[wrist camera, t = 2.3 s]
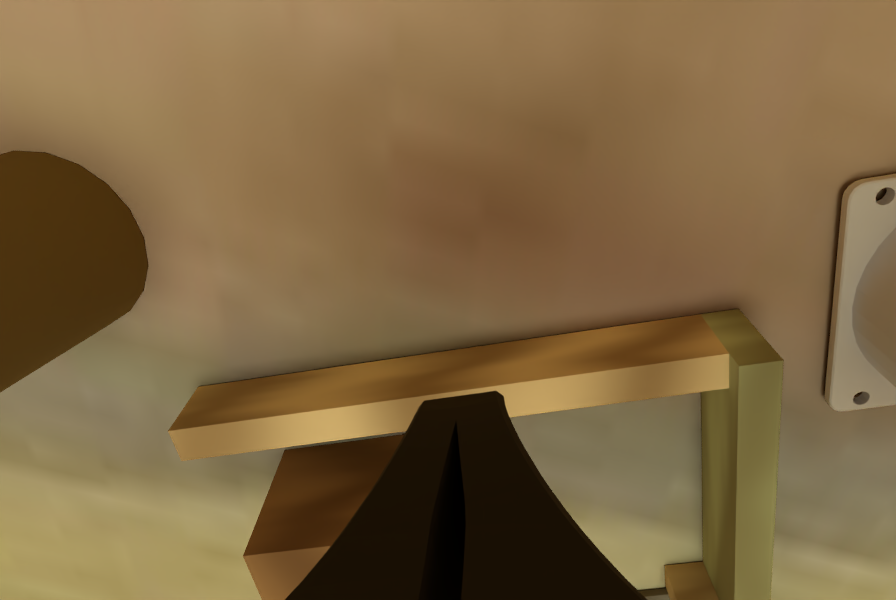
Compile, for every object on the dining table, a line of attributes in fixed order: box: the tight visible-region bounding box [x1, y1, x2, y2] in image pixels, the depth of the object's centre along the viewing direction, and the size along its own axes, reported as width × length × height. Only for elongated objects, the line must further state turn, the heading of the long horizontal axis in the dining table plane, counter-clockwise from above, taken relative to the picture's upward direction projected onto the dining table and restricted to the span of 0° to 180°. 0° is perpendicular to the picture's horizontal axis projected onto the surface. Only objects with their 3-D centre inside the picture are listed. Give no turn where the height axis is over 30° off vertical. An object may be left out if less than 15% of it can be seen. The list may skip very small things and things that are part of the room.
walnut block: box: [243, 434, 404, 600], centre depth 22 cm, size 5×6×5 cm
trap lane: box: [168, 309, 784, 600], centre depth 24 cm, size 18×20×3 cm
